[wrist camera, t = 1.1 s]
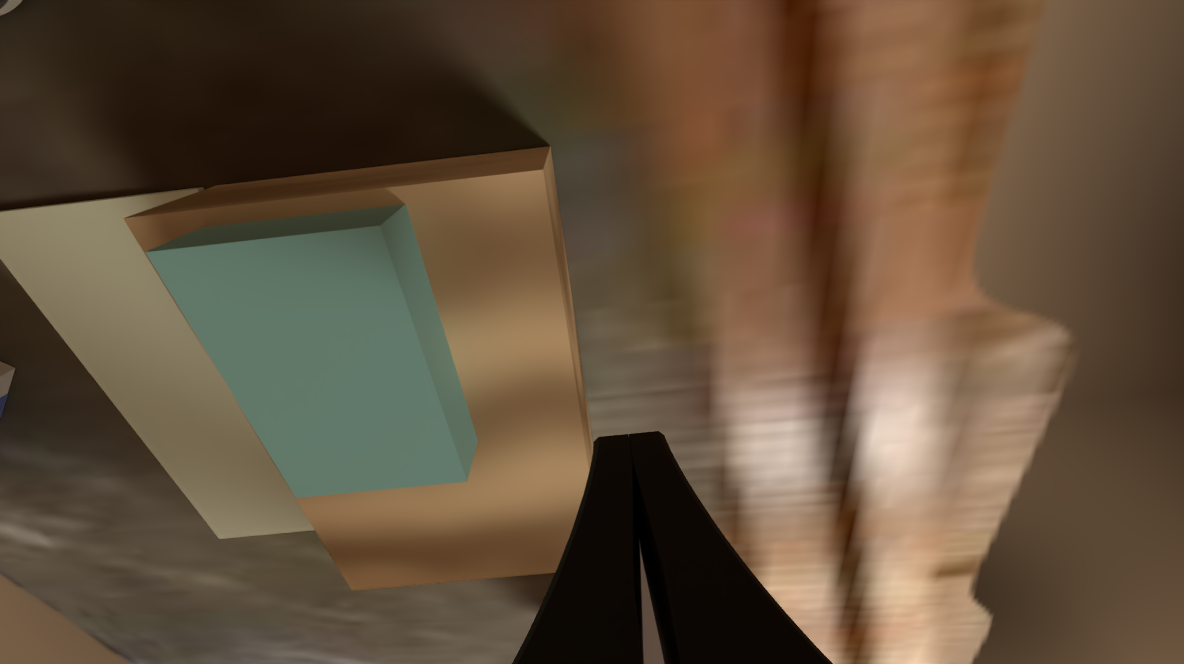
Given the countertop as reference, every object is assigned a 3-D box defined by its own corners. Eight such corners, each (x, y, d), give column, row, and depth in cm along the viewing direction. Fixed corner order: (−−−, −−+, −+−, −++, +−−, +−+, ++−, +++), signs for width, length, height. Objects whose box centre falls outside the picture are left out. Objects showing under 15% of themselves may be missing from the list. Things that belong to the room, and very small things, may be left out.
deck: (600, 498, 25) (604, 568, 22) (382, 519, 26) (352, 590, 22) (550, 146, 16) (543, 169, 13) (216, 185, 17) (122, 218, 13)
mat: (373, 520, 26) (371, 524, 26) (222, 534, 26) (219, 538, 26) (203, 187, 17) (197, 189, 17) (-24, 213, 17) (-34, 215, 17)
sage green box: (478, 440, 18) (467, 481, 16) (323, 455, 18) (296, 498, 16) (405, 204, 13) (379, 225, 12) (200, 227, 14) (145, 252, 12)
